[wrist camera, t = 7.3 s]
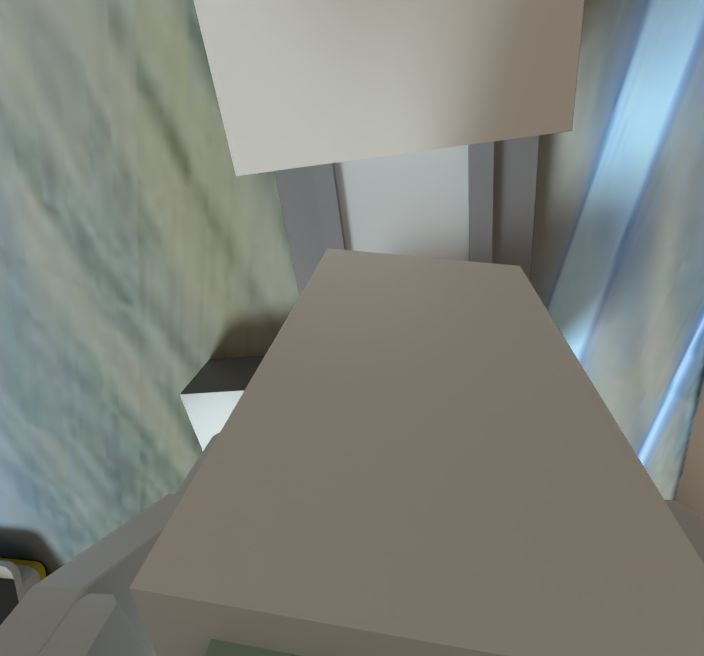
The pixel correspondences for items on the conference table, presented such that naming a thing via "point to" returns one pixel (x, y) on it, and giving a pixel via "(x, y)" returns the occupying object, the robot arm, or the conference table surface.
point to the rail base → (396, 117)
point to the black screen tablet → (17, 582)
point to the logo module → (421, 489)
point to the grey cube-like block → (217, 393)
